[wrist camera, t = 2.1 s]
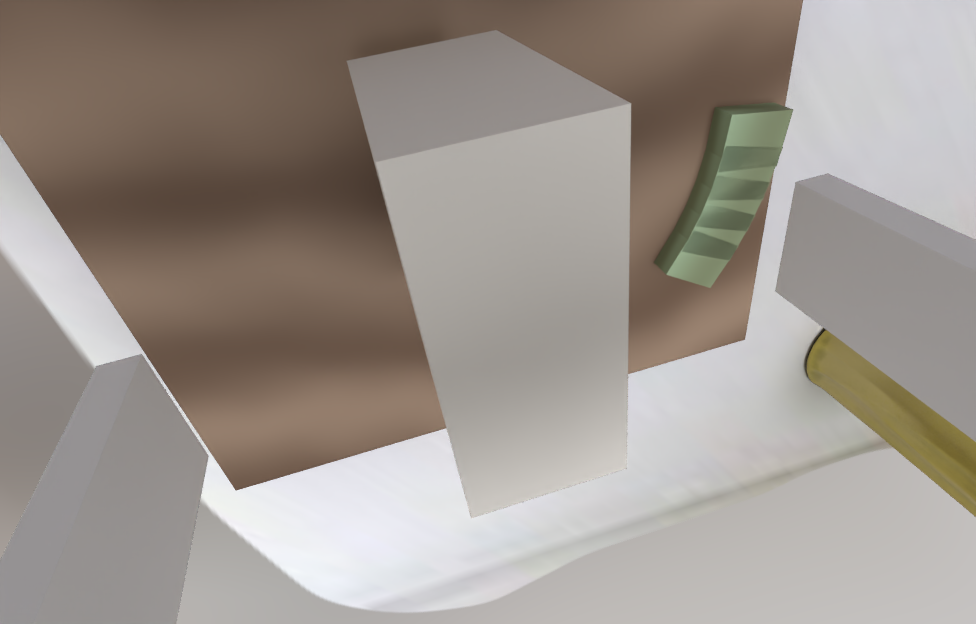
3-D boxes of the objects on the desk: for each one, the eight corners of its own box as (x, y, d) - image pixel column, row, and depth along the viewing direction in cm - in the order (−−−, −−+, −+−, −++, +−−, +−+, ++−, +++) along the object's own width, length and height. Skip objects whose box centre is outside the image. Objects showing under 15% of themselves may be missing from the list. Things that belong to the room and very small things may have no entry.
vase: (855, 387, 35) (1117, 608, 24) (784, 380, 33) (1037, 620, 21) (919, 306, 32) (1253, 513, 21) (847, 292, 30) (1177, 516, 19)
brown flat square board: (-237, -319, 11) (-384, -386, 9) (819, -430, 14) (923, -502, 12) (240, 455, 25) (233, 510, 23) (720, 316, 28) (758, 352, 26)
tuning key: (340, 40, 15) (375, 162, 7) (467, 14, 16) (630, 103, 8) (445, 425, 24) (511, 666, 16) (523, 402, 25) (625, 626, 17)
